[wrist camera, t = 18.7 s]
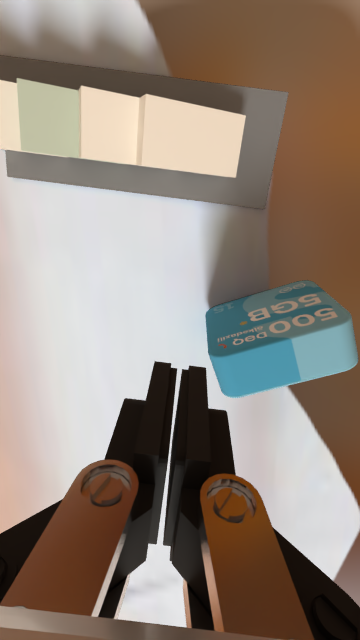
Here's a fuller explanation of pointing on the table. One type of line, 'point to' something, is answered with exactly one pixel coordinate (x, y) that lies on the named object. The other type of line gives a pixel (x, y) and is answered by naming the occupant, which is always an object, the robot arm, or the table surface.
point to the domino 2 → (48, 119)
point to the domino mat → (241, 191)
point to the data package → (279, 339)
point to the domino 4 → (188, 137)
